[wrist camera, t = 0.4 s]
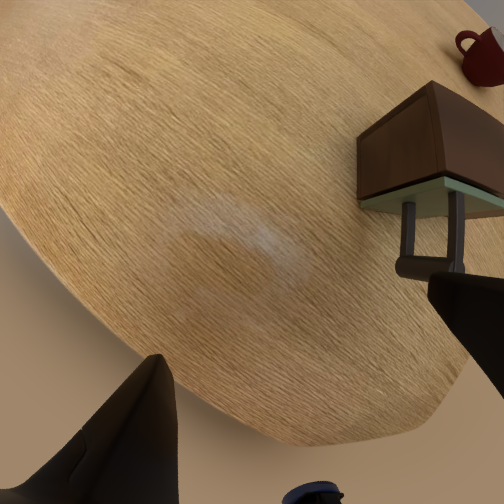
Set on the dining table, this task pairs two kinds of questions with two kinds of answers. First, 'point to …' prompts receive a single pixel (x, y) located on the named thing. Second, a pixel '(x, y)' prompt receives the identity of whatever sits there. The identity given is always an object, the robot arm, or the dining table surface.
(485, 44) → the mug
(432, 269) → the door
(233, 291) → the dining table surface
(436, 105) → the cabinet
